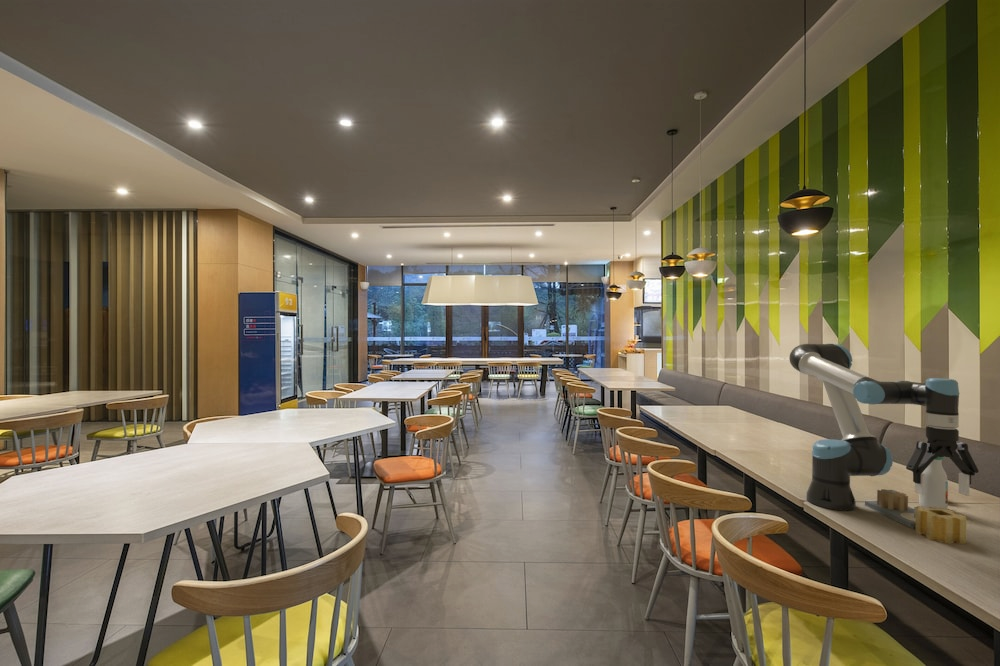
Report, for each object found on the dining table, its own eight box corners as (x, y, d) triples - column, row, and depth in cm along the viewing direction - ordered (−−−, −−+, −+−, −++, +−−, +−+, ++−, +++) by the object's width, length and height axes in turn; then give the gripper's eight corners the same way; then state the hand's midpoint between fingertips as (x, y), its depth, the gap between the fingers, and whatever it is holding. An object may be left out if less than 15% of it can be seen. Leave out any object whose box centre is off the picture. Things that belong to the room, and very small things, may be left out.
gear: (938, 543, 140) (938, 518, 140) (909, 528, 151) (909, 506, 151) (973, 544, 140) (973, 519, 140) (941, 529, 151) (942, 506, 151)
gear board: (910, 527, 152) (911, 505, 152) (864, 504, 172) (865, 485, 172) (948, 528, 151) (948, 506, 151) (897, 505, 171) (897, 486, 171)
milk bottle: (942, 513, 165) (943, 457, 165) (915, 505, 172) (915, 452, 171) (951, 509, 168) (952, 455, 168) (924, 502, 175) (925, 450, 175)
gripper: (911, 428, 142) (911, 497, 142) (994, 430, 141) (994, 499, 141) (892, 424, 150) (891, 489, 149) (970, 425, 149) (970, 490, 149)
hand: (941, 494), depth 145 cm, fingers open, 13 cm apart
